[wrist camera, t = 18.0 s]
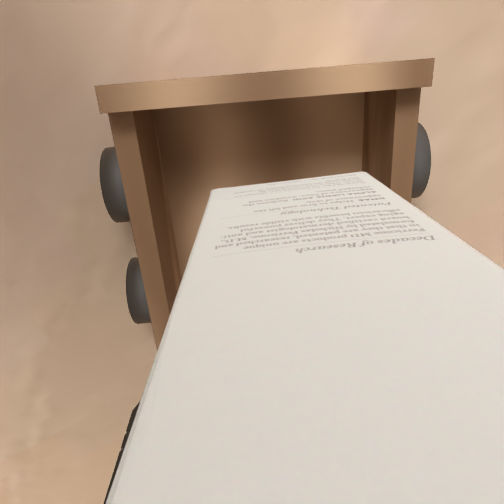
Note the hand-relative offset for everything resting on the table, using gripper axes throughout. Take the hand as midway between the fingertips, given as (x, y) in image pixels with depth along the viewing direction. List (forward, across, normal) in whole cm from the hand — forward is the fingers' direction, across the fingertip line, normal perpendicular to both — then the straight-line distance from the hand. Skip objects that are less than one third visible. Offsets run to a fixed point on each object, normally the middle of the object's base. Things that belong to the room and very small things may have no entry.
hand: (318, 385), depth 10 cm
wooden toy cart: (+16, 0, +1) cm, 16 cm away
